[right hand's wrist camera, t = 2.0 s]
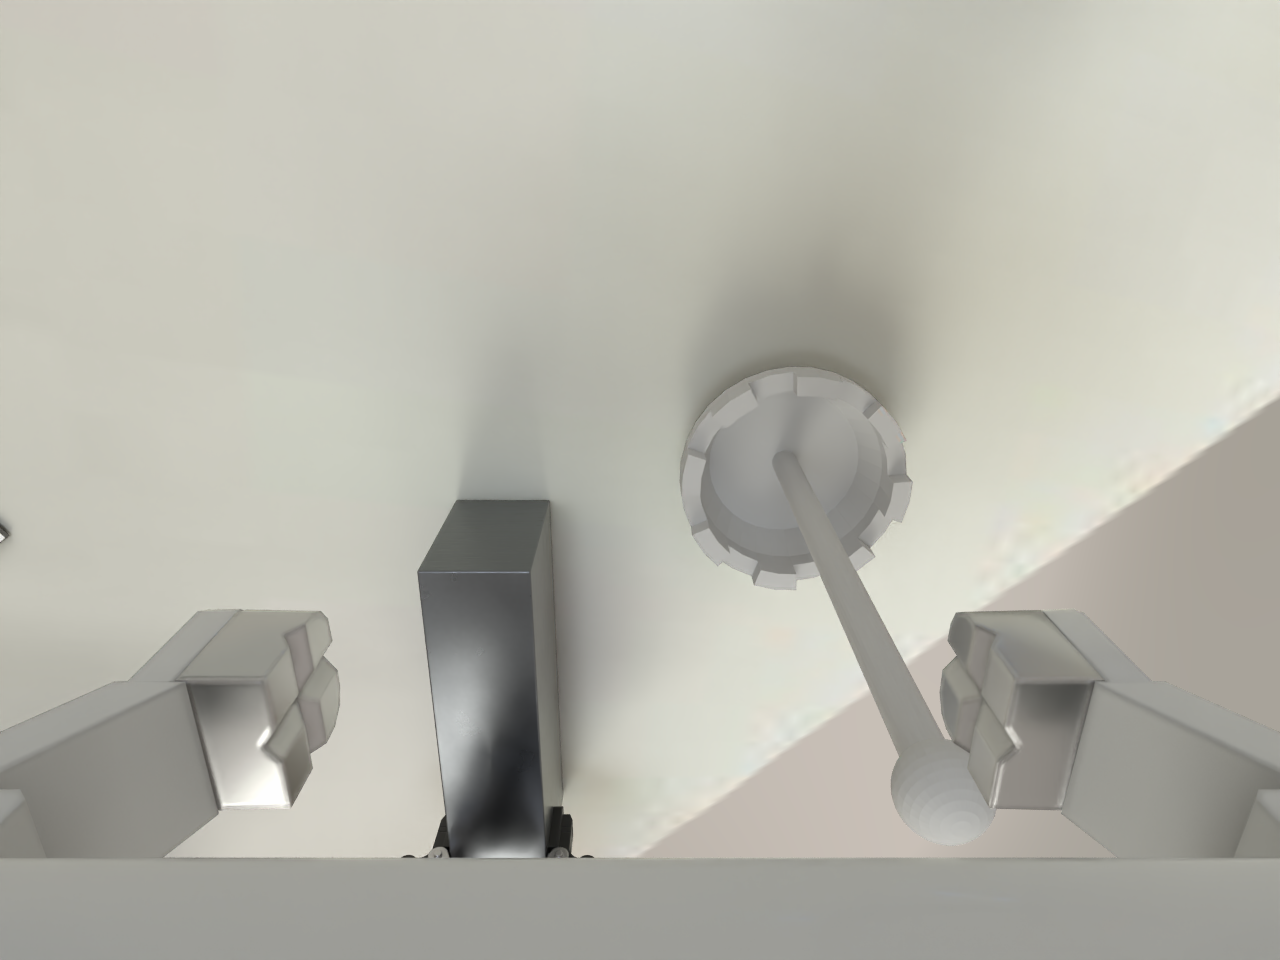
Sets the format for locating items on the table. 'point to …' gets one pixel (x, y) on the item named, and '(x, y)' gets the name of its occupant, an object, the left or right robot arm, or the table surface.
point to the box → (494, 676)
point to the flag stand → (827, 548)
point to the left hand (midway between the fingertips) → (510, 816)
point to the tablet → (3, 535)
